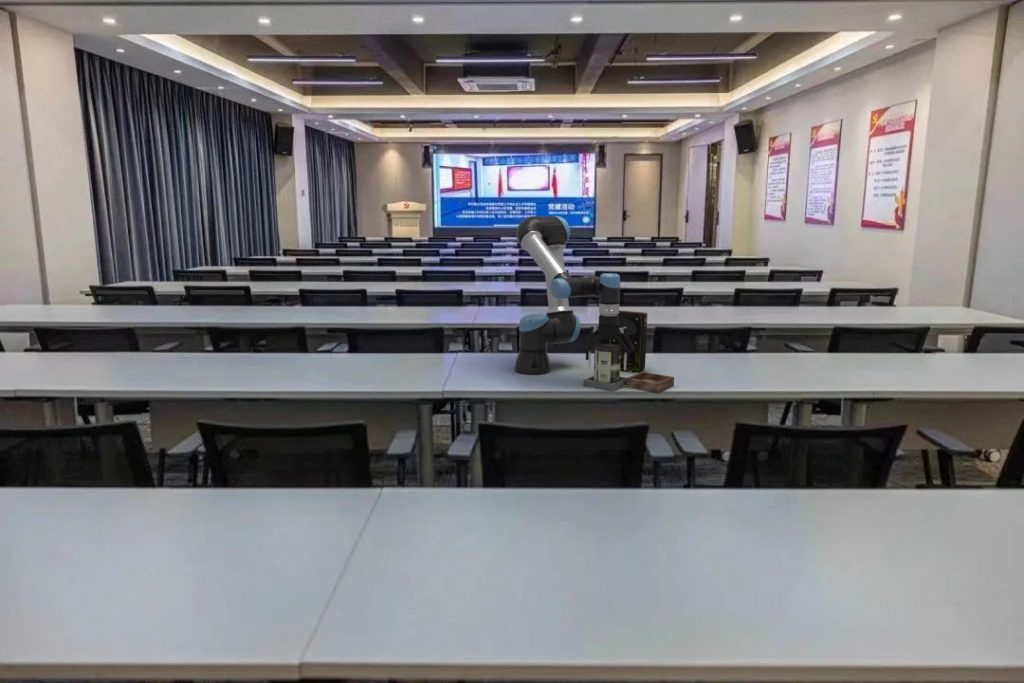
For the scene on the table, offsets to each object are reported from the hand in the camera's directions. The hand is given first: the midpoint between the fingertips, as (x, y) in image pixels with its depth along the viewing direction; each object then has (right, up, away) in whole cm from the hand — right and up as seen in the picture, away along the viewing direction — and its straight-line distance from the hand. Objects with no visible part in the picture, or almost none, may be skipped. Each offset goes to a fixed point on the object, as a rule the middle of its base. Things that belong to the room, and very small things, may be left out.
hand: (607, 368), depth 265 cm
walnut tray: (+17, -7, 0) cm, 18 cm away
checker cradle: (0, -6, +1) cm, 7 cm away
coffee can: (0, -5, +1) cm, 5 cm away
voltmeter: (+12, -2, +26) cm, 28 cm away
